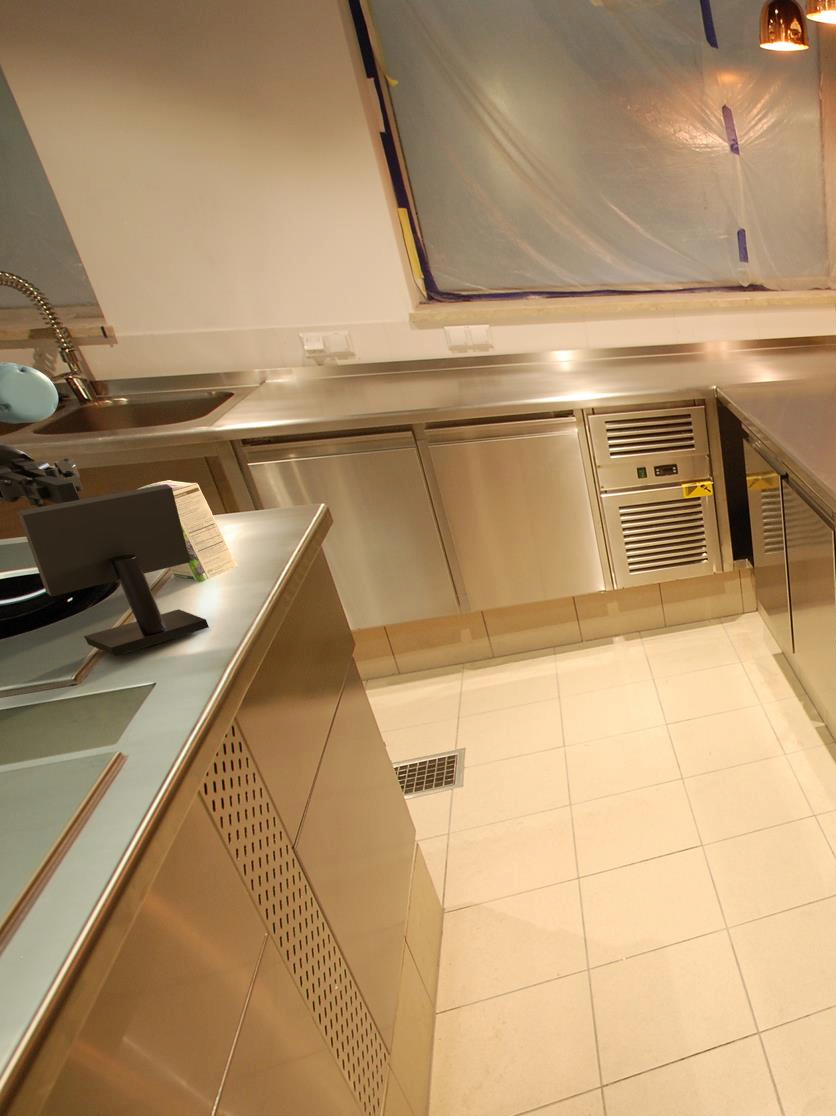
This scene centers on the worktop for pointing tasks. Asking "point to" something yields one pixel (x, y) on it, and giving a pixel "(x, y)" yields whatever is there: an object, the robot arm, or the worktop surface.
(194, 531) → the syrup box
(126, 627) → the monitor stand
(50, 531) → the monitor screen
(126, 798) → the worktop surface
